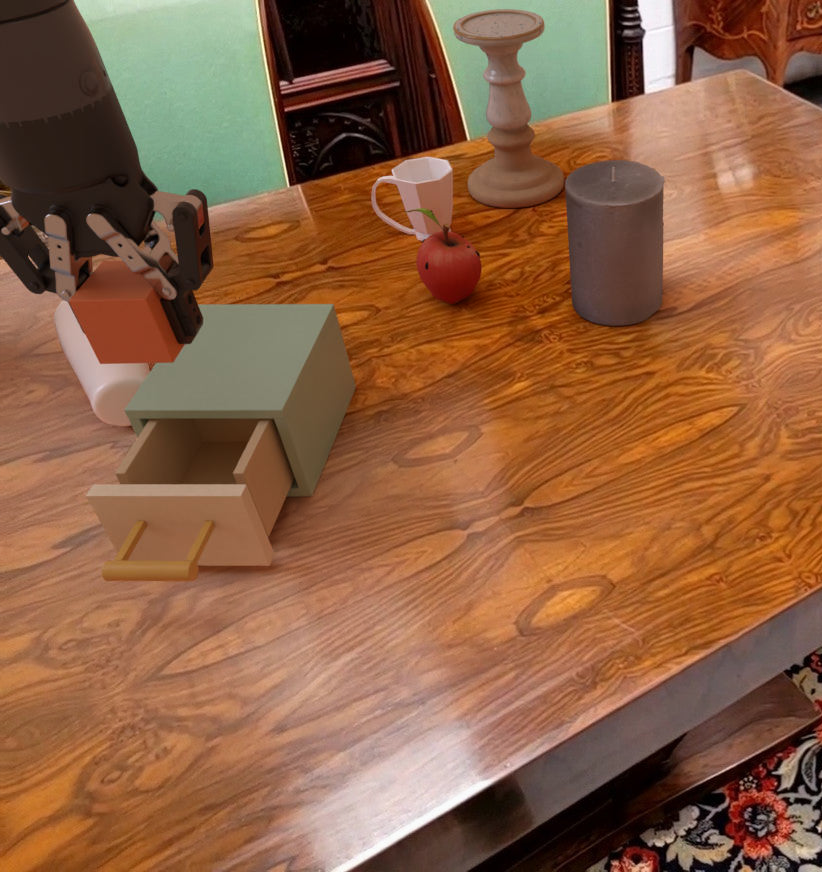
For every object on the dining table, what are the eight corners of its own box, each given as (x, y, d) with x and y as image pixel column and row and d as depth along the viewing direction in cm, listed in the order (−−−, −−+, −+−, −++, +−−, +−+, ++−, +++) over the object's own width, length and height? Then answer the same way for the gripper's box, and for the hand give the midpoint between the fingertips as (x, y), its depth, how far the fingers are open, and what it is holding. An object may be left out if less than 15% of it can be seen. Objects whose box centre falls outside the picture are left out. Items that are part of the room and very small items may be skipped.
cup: (457, 248, 108) (446, 183, 103) (371, 247, 108) (357, 183, 103) (467, 219, 113) (458, 155, 108) (386, 218, 114) (373, 155, 108)
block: (99, 364, 62) (67, 300, 59) (130, 322, 66) (102, 260, 63) (173, 363, 62) (145, 299, 59) (200, 321, 66) (175, 258, 63)
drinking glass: (136, 446, 86) (102, 358, 94) (185, 393, 85) (146, 309, 94) (65, 417, 80) (36, 326, 89) (117, 360, 80) (82, 275, 89)
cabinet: (312, 496, 77) (282, 409, 71) (165, 496, 78) (123, 410, 72) (356, 386, 89) (333, 303, 82) (228, 386, 89) (196, 304, 83)
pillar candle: (564, 284, 102) (554, 153, 92) (651, 272, 103) (650, 141, 94) (582, 334, 95) (573, 197, 85) (675, 319, 96) (677, 183, 86)
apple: (491, 280, 103) (479, 196, 96) (481, 314, 97) (468, 228, 91) (421, 280, 103) (405, 196, 96) (408, 314, 98) (390, 228, 91)
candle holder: (495, 218, 113) (473, 48, 100) (452, 181, 121) (426, 18, 108) (582, 192, 118) (572, 26, 105) (536, 157, 126) (521, -1, 113)
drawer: (246, 621, 67) (213, 551, 62) (93, 620, 67) (48, 551, 62) (319, 446, 81) (297, 378, 76) (192, 446, 81) (162, 378, 76)
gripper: (188, 64, 55) (269, 306, 67) (-50, 70, 56) (71, 310, 67) (136, 113, 50) (234, 369, 61) (-129, 120, 50) (18, 373, 61)
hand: (148, 337), depth 64 cm, fingers closed on block, 5 cm apart
